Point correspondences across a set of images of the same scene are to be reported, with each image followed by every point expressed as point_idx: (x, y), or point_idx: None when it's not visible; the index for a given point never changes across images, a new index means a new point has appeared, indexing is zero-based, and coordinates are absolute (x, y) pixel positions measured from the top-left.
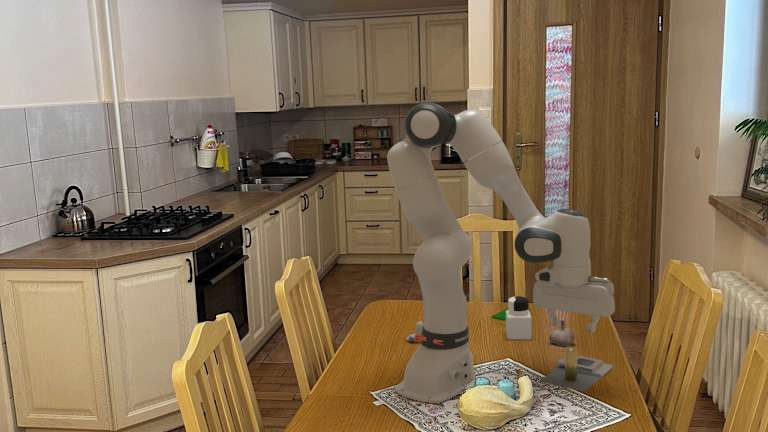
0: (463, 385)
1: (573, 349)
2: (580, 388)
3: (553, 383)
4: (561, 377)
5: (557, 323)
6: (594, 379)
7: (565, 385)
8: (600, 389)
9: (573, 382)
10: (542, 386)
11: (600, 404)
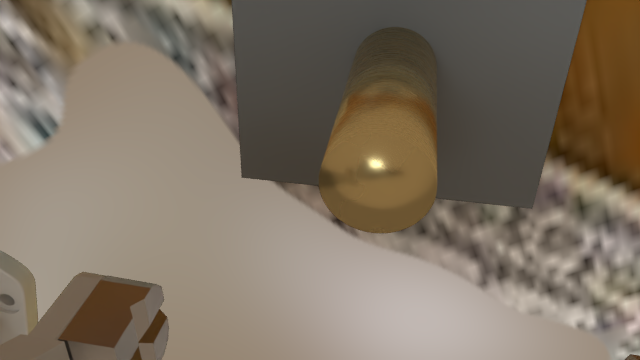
0: (2, 328)
1: (404, 197)
2: (495, 179)
3: None
4: (331, 75)
5: (149, 353)
6: (556, 1)
7: None
8: (602, 38)
9: None
10: None
11: (628, 230)
